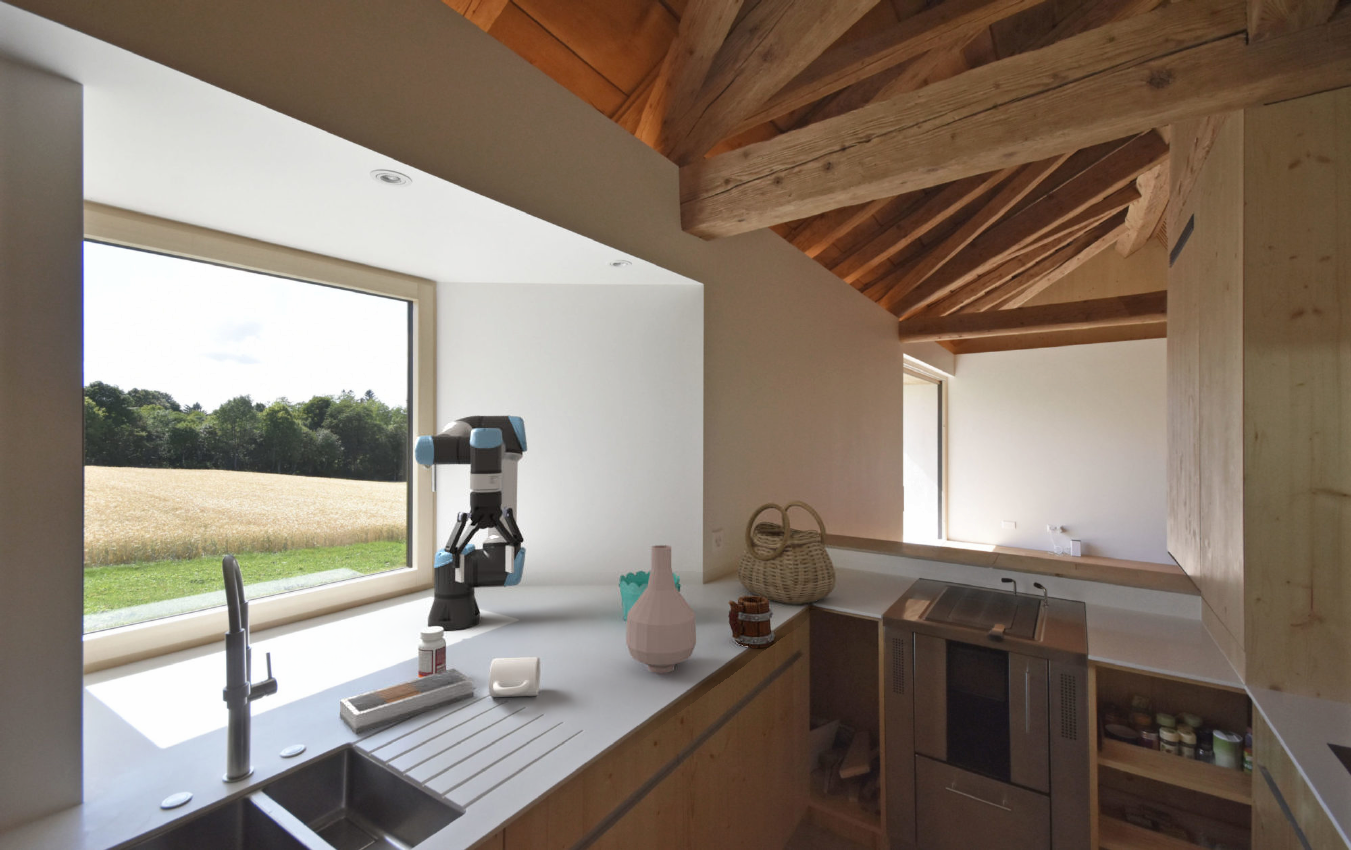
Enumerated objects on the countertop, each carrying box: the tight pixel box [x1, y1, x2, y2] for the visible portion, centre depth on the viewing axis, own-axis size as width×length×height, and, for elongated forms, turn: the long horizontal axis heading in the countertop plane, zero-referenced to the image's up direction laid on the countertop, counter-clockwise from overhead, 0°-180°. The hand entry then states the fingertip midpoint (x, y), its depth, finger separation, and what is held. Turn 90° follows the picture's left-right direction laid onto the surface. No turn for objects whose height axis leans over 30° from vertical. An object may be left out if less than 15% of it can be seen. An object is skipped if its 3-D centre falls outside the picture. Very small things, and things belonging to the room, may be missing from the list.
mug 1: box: [488, 656, 541, 698], centre depth 134 cm, size 12×10×8 cm
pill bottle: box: [417, 626, 447, 678], centre depth 146 cm, size 6×6×11 cm
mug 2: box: [728, 595, 776, 649], centre depth 170 cm, size 12×14×15 cm
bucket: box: [618, 570, 682, 622], centre depth 193 cm, size 19×18×13 cm
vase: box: [625, 544, 697, 674], centre depth 152 cm, size 18×18×30 cm
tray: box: [339, 667, 474, 735], centre depth 130 cm, size 24×10×4 cm, turn 134°
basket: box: [737, 500, 837, 605], centre depth 219 cm, size 35×28×34 cm
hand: (485, 576), depth 151 cm, fingers open, 13 cm apart
